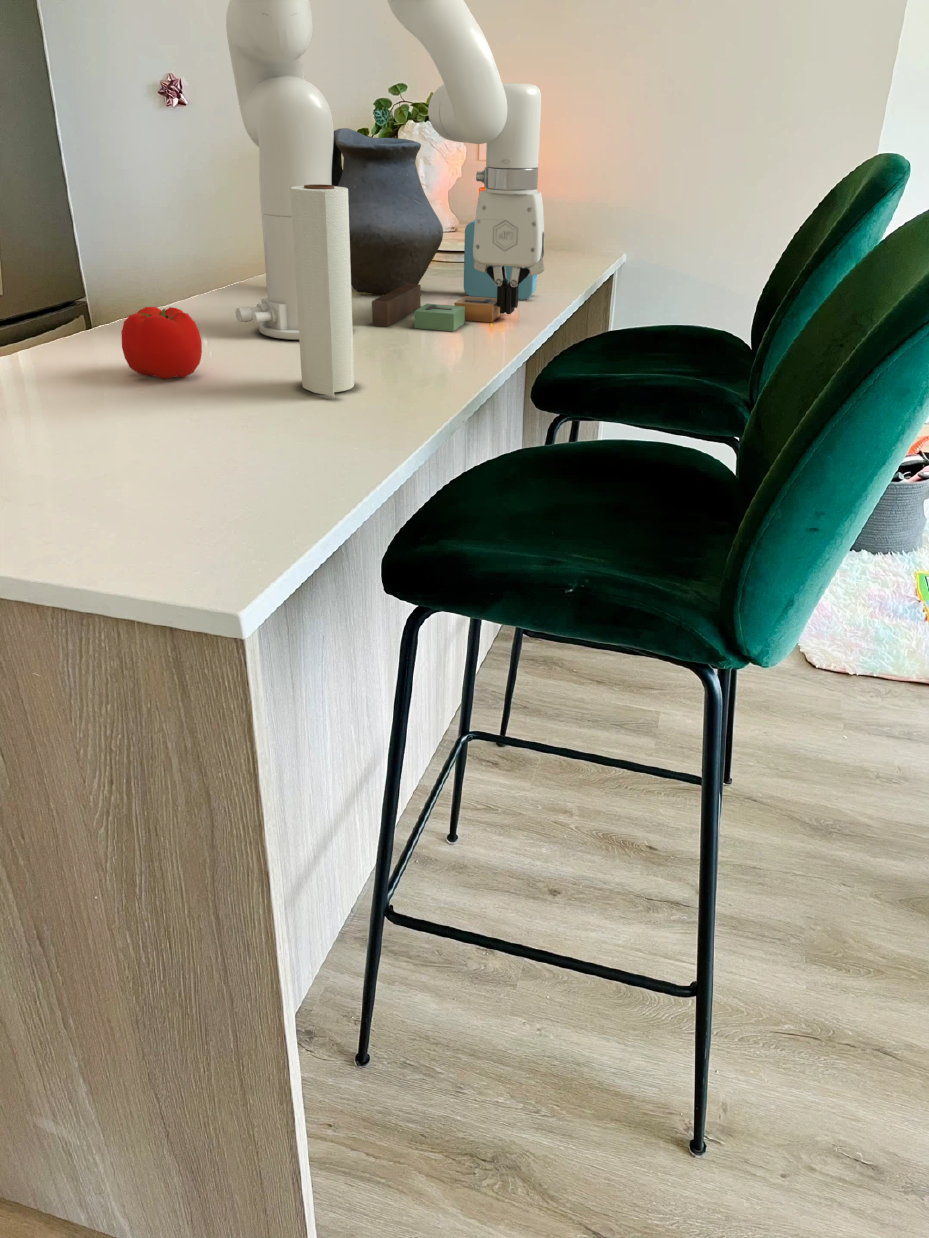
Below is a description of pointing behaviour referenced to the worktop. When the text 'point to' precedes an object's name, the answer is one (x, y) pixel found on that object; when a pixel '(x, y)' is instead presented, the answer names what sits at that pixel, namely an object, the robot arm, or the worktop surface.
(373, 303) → the walnut ledge
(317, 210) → the paper towel roll
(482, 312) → the oak letter tile
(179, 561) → the worktop surface
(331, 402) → the worktop surface
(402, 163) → the pitcher
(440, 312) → the sage letter tile
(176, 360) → the tomato
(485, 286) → the blue rounded slab
